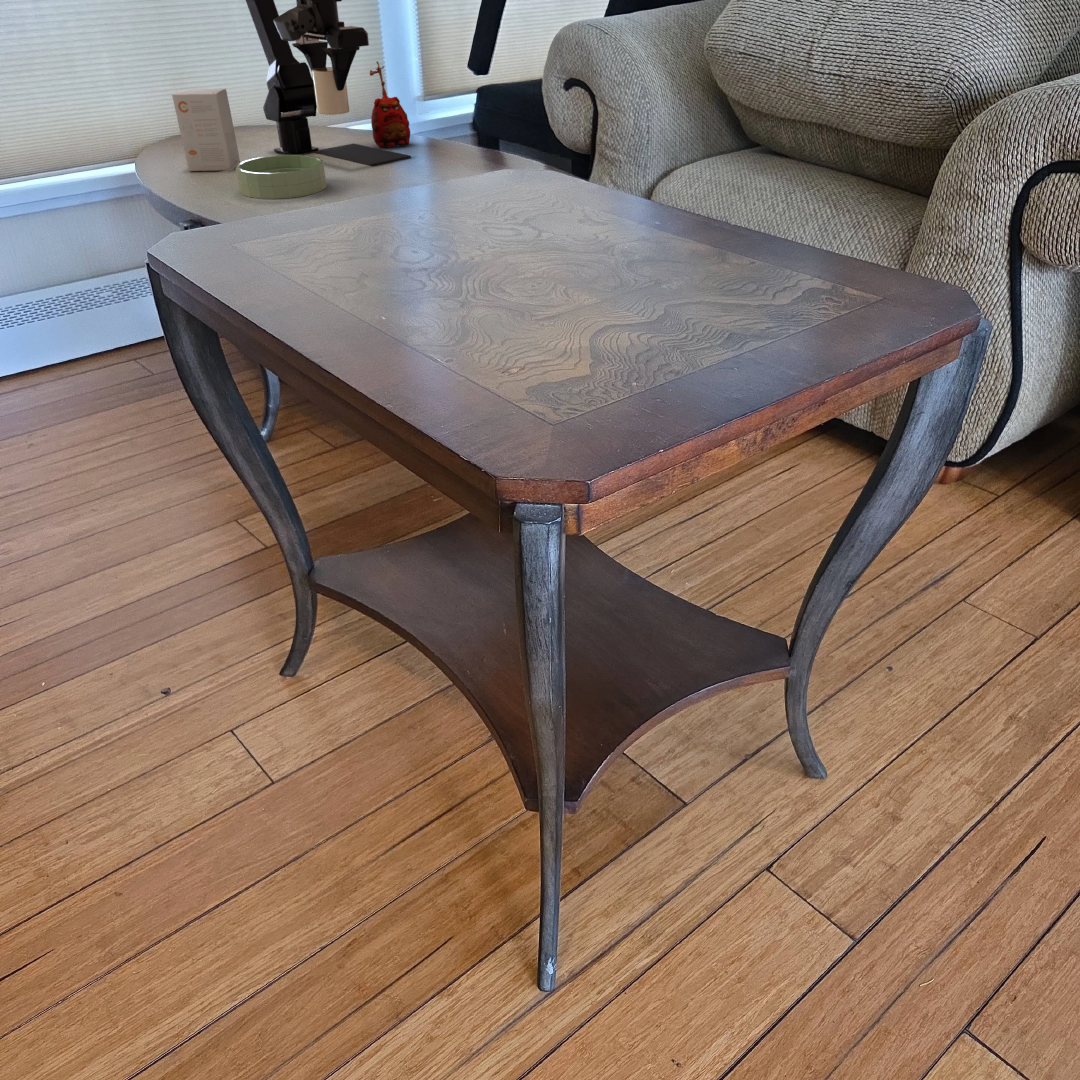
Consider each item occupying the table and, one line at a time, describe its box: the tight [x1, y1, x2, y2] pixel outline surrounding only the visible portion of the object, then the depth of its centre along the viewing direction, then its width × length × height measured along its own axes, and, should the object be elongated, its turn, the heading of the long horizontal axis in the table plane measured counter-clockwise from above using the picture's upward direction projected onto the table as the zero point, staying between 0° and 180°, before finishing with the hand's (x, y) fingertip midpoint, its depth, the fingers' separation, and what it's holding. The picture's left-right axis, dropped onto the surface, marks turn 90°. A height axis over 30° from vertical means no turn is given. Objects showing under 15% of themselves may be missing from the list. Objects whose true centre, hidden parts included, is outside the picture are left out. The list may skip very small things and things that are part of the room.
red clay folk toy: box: [369, 60, 411, 149], centre depth 185 cm, size 8×7×15 cm
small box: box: [171, 88, 241, 172], centre depth 171 cm, size 8×6×13 cm
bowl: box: [235, 154, 328, 200], centre depth 157 cm, size 14×14×4 cm
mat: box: [298, 143, 412, 167], centre depth 180 cm, size 18×14×1 cm
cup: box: [311, 66, 350, 116], centre depth 169 cm, size 6×6×7 cm
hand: (330, 88), depth 169 cm, fingers closed on cup, 6 cm apart
